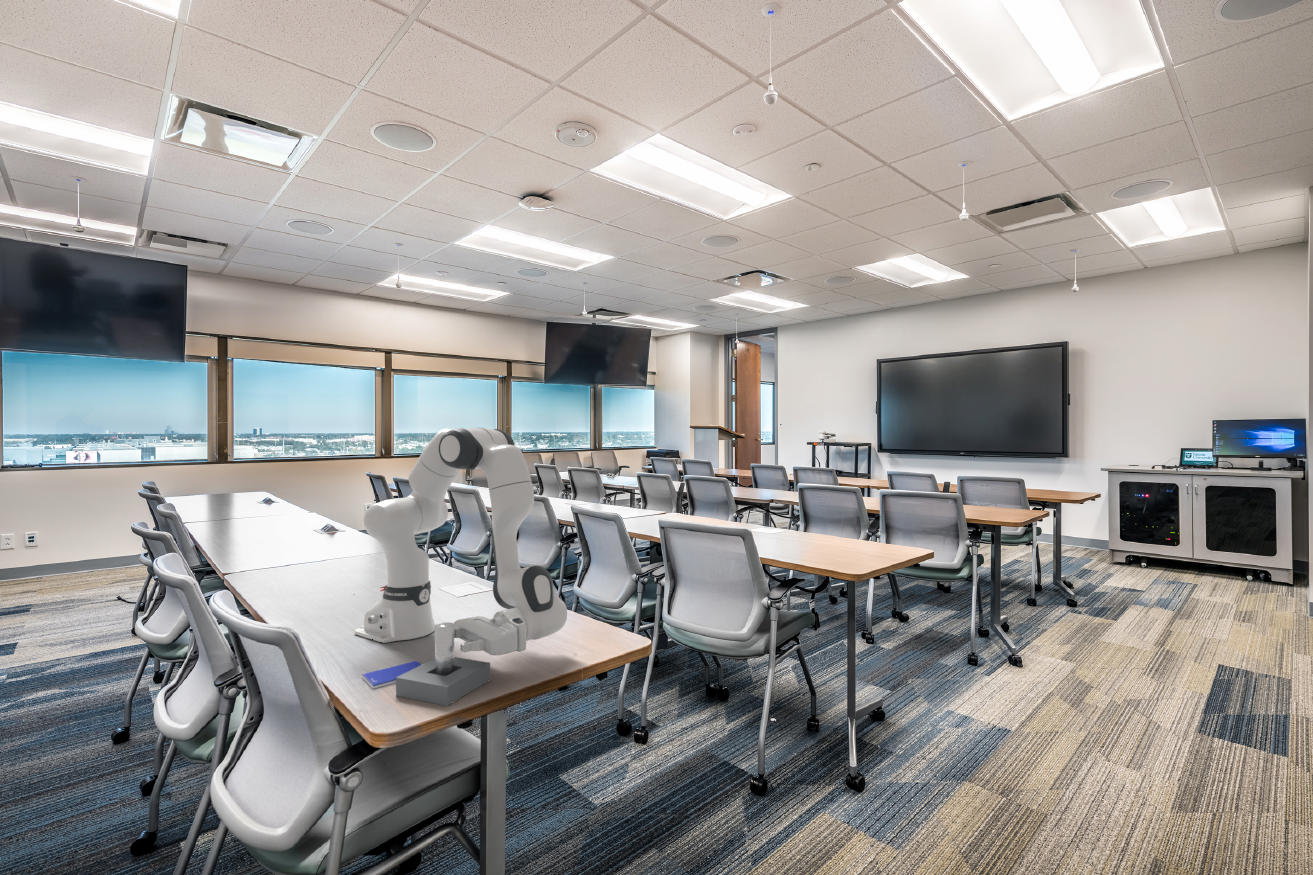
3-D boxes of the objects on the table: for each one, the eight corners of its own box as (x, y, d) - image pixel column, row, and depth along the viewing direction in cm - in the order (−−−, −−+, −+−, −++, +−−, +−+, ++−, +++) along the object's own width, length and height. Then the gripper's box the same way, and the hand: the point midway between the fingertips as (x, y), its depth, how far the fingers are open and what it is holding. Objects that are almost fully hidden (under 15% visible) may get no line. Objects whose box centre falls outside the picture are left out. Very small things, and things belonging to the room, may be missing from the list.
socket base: (396, 695, 126) (396, 677, 126) (442, 671, 139) (441, 654, 139) (447, 706, 121) (447, 686, 121) (490, 679, 134) (490, 662, 134)
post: (431, 689, 129) (430, 627, 129) (444, 682, 133) (443, 621, 133) (445, 692, 127) (445, 629, 127) (458, 685, 131) (457, 623, 131)
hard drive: (372, 684, 130) (428, 669, 138) (362, 673, 136) (416, 659, 144) (372, 691, 130) (428, 675, 138) (362, 680, 136) (416, 665, 144)
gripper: (485, 606, 148) (432, 619, 139) (529, 624, 134) (473, 639, 124) (486, 631, 148) (432, 645, 139) (529, 652, 134) (473, 669, 124)
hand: (452, 642), depth 131 cm, fingers open, 8 cm apart
